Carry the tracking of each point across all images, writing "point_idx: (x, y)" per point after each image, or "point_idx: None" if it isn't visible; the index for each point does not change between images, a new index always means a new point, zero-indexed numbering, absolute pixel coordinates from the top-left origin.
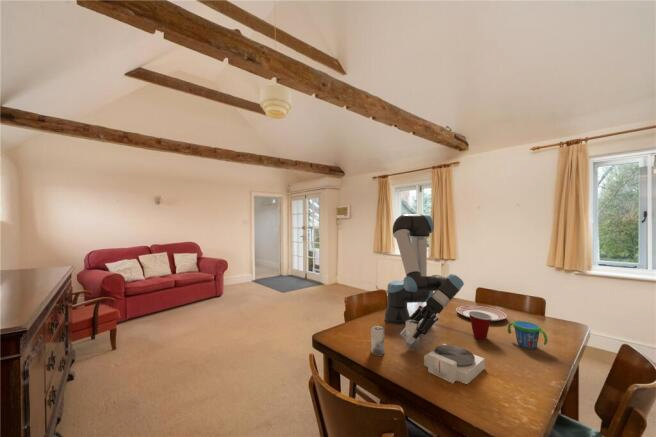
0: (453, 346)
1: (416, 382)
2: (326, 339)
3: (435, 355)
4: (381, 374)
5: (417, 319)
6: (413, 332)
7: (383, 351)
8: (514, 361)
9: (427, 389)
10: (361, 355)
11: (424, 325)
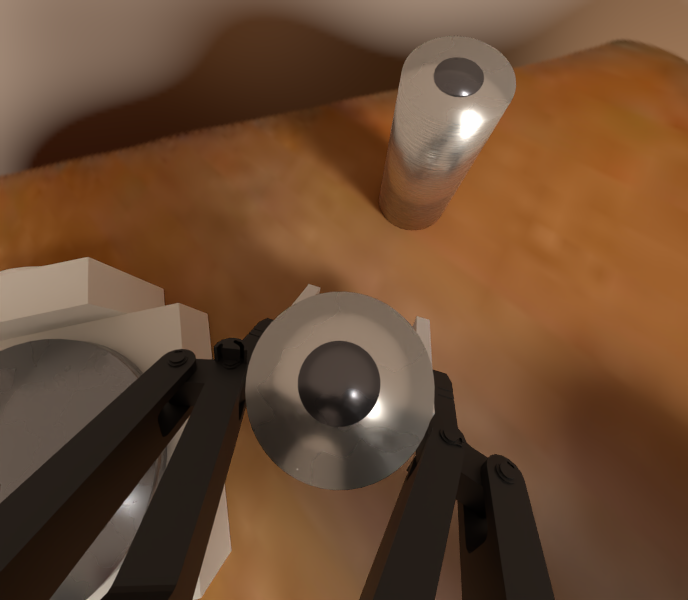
0: (72, 589)
1: (149, 194)
2: (623, 71)
3: (47, 287)
4: (262, 120)
5: (381, 555)
6: None
7: (383, 201)
8: None
9: (98, 198)
10: None
11: (126, 424)
